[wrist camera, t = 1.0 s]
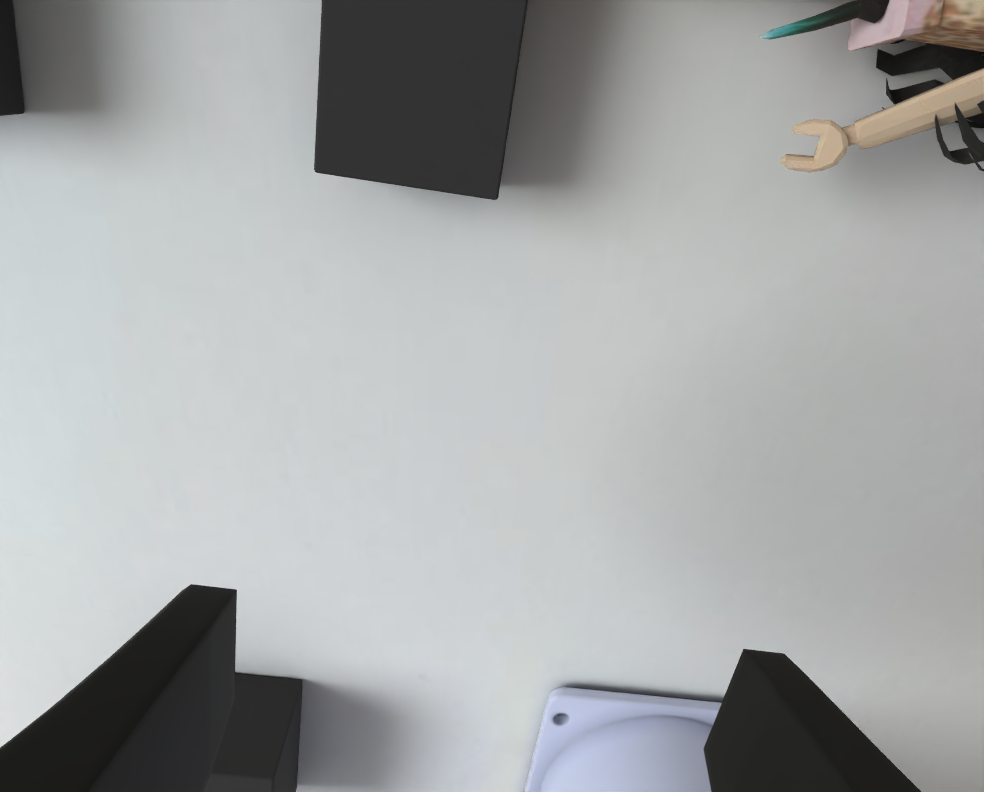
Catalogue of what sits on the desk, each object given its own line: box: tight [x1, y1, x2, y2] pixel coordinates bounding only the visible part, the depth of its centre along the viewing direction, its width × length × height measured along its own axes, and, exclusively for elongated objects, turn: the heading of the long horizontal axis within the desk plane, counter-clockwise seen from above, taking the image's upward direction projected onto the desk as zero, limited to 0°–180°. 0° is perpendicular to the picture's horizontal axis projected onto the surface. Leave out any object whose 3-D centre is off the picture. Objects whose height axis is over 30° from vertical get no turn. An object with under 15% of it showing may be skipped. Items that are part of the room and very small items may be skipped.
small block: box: [203, 674, 302, 792], centre depth 21 cm, size 5×5×4 cm
